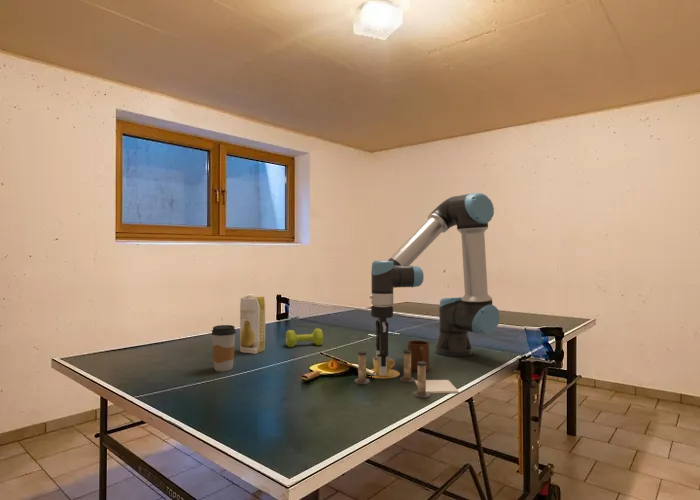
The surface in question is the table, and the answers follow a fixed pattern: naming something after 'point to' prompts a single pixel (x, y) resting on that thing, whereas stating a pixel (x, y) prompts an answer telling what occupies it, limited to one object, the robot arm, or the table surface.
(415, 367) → the mug
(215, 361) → the coffee cup
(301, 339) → the dumbbell
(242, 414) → the table surface
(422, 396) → the posts
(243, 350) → the juice carton
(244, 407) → the table surface
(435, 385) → the coaster
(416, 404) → the table surface
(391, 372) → the cup
